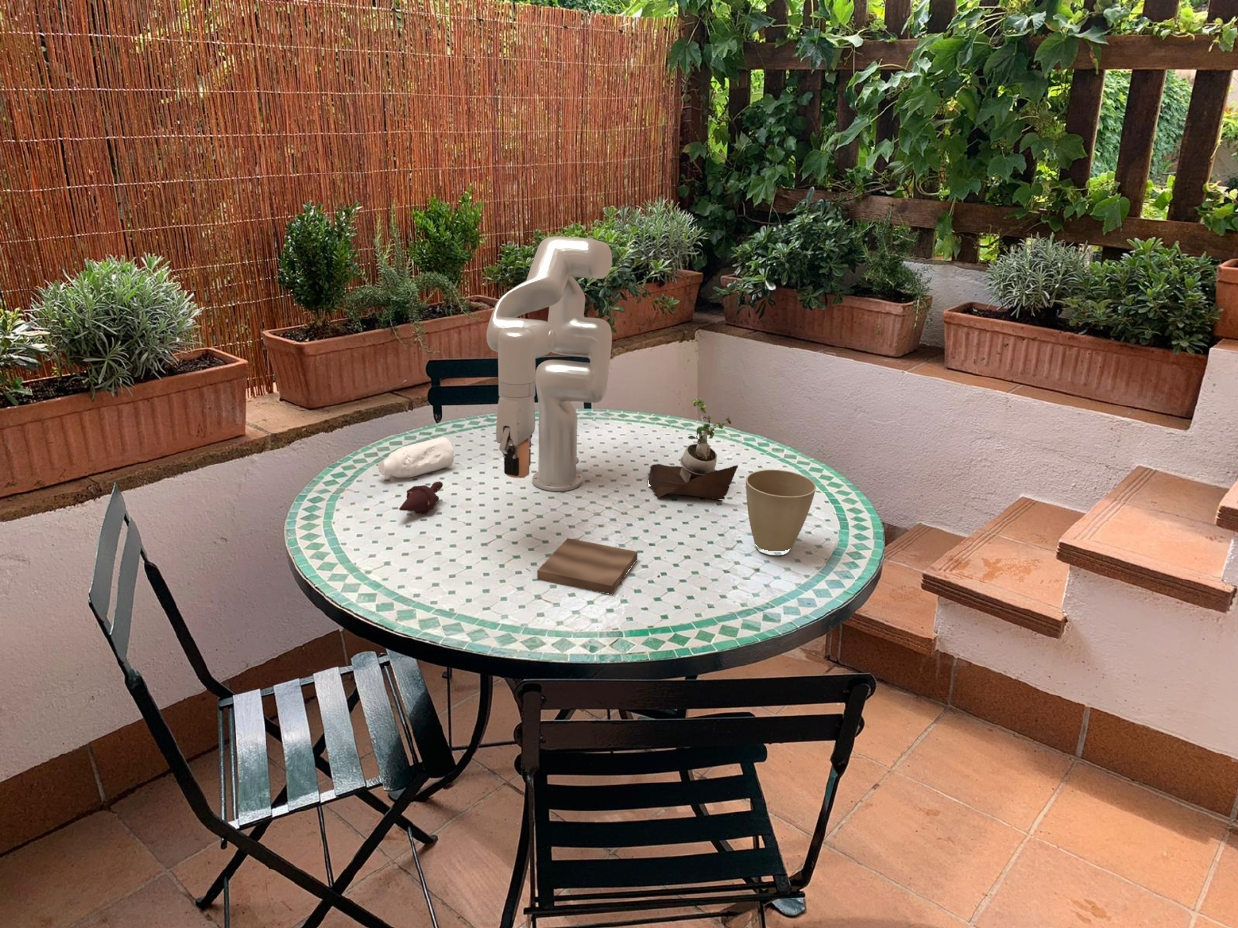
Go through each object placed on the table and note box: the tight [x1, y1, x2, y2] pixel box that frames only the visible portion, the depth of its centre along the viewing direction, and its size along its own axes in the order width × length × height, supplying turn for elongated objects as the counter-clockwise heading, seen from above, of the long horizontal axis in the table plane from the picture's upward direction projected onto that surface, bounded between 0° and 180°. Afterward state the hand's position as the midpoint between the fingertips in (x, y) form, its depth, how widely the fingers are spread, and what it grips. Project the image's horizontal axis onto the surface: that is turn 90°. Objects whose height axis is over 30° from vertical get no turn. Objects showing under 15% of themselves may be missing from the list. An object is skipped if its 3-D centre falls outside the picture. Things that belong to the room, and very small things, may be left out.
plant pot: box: [745, 469, 817, 551], centre depth 200 cm, size 15×15×16 cm
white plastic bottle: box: [377, 436, 456, 479], centre depth 234 cm, size 8×19×8 cm, turn 133°
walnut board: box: [536, 537, 638, 595], centre depth 191 cm, size 16×16×2 cm
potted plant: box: [647, 398, 739, 500], centre depth 229 cm, size 20×19×25 cm
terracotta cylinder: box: [505, 440, 530, 479], centre depth 195 cm, size 5×5×7 cm
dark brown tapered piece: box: [398, 481, 444, 516], centre depth 213 cm, size 7×7×15 cm
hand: (517, 469), depth 196 cm, fingers closed on terracotta cylinder, 5 cm apart
